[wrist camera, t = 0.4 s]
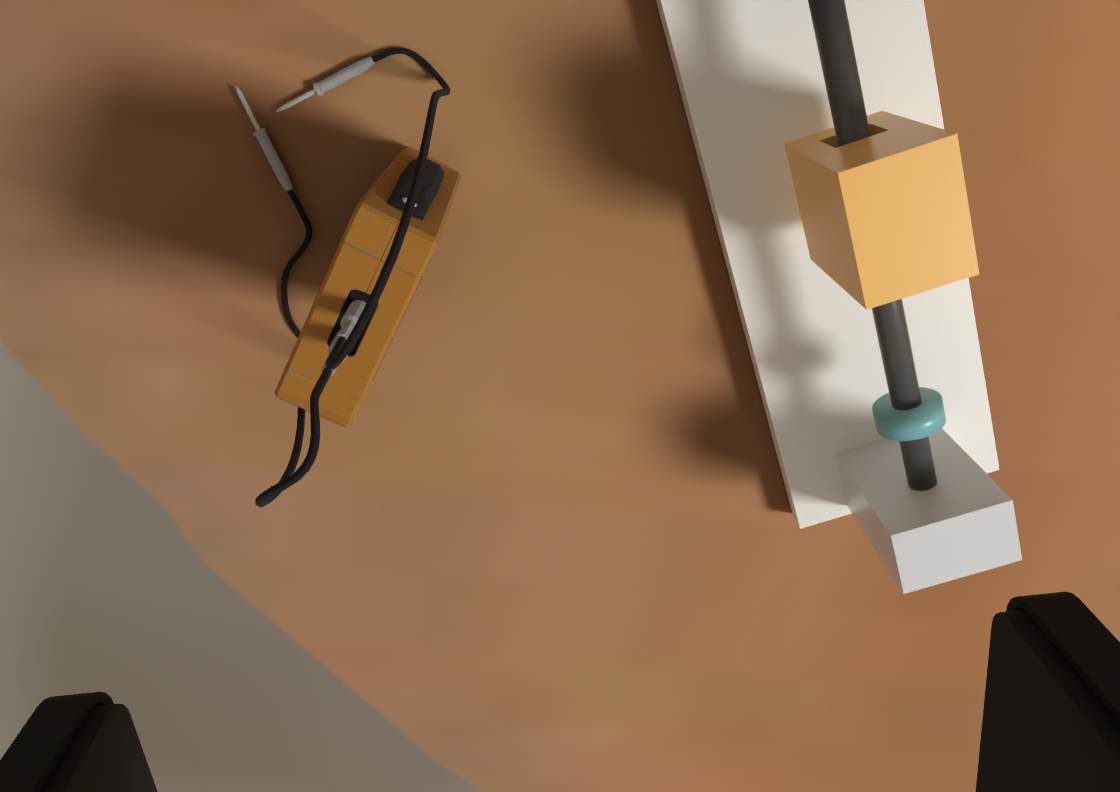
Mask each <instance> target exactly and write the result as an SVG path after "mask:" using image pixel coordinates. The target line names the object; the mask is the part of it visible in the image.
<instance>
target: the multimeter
mask: <svg viewBox="0 0 1120 792" xmlns="http://www.w3.org/2000/svg"><path fill="white" fill-rule="evenodd" d="M394 54H406V55H409V56H411V57H413V58H414V59H416V60H417V61H419V62H420V63H421V64H422V65H423V66H424V67H425V68H426V69H427V70H428V71H429V72H430V73H431V74H432V76H433V77H434V78H435V79H436V80H437V81H438V83H439V84H440V85H441V86H442V88H443V89H440V90H437V91H435V92H433V94H432V96H431V100H430V104H429V109H428V114H427V119H426V124H425V129H424V133H423V138H422V143H421V147H420V152H417V151H415V150H413V149H411V148H409V147H406V148H403V149H402V151H401V152H400V153H399V154H398V155H397V156H396V158H395V159H394V160H393V161H392V162H391V164H390V165H389V166H388V167H387V168H386V169H385V171H384V172H383V173H382V174H381V176H380V177H379V178H378V179H377V180H376V182H375V183H374V184H373V185H372V187H371V188H370V189H369V190H368V192H367V193H366V194H365V195H364V196H363V198H362V199H361V200H360V201H359V203H358V204H357V206H356V208H355V210H354V212H353V214H352V216H351V218H350V221H349V223H348V225H347V227H346V230H345V232H344V234H343V236H342V239H341V241H340V244H339V246H338V248H337V251H336V253H335V255H334V257H333V260H332V262H331V264H330V267H329V269H328V271H327V273H326V276H325V278H324V280H323V283H322V285H321V287H320V289H319V292H318V294H317V296H316V299H315V301H314V303H313V305H312V308H311V310H310V312H309V315H308V317H307V319H306V321H305V324H304V326H303V328H302V331H301V332H300V331H299V329H298V328H297V326H296V325H295V323H294V321H293V319H292V317H291V314H290V311H289V306H288V298H287V279H288V275H289V272H290V270H291V268H292V266H293V264H294V263H295V261H296V260H297V259H298V258H299V256H300V255H301V254H302V253H303V252H304V250H305V249H306V248H307V246H308V245H309V243H310V240H311V238H312V228H311V225H310V222H309V219H308V217H307V215H306V213H305V211H304V209H303V207H302V205H301V203H300V201H299V199H298V198H297V196H296V194H295V193H294V191H293V189H292V188H293V187H292V184H291V181H290V178H289V176H288V174H287V172H286V170H285V168H284V166H283V164H282V162H281V160H280V158H279V156H278V154H277V152H276V150H275V149H274V147H273V145H272V143H271V141H270V139H269V137H268V135H267V133H266V128H263V129H261V128H260V126H259V124H258V123H257V121H256V119H255V117H254V115H253V113H252V111H251V109H250V107H249V105H248V103H247V101H246V99H245V97H244V95H243V94H242V92H241V91H240V90H239V88H238V87H237V86H236V85H235V86H236V90H237V94H238V96H239V98H240V100H241V102H242V104H243V106H244V108H245V110H246V111H247V113H248V115H249V117H250V119H251V121H252V123H253V125H254V127H255V129H256V132H254V133H253V135H254V136H255V137H256V138H257V140H258V142H259V144H260V146H261V148H262V149H263V151H264V153H265V155H266V157H267V159H268V161H269V163H270V165H271V167H272V169H273V171H274V173H275V174H276V176H277V178H278V180H279V182H280V183H281V185H282V186H283V188H284V189H285V190H286V191H287V192H288V194H289V195H290V197H291V199H292V200H293V202H294V204H295V206H296V208H297V210H298V212H299V214H300V216H301V218H302V220H303V222H304V225H305V228H306V238H305V241H304V243H303V244H302V246H301V247H300V248H299V249H298V251H297V252H296V253H295V254H294V256H293V257H292V258H291V259H290V261H289V262H288V264H287V266H286V268H285V270H284V273H283V276H282V284H281V292H282V304H283V309H284V314H285V317H286V320H287V322H288V324H289V326H290V327H291V329H292V330H293V332H294V333H295V335H296V336H297V337H298V340H297V342H296V344H295V347H294V349H293V351H292V353H291V356H290V358H289V360H288V362H287V365H286V367H285V369H284V371H283V374H282V376H281V378H280V381H279V383H278V385H277V388H276V390H275V395H276V397H277V398H279V399H281V400H283V401H286V402H288V403H290V404H293V405H295V406H297V407H298V418H297V430H296V436H295V443H294V447H293V451H292V455H291V458H290V461H289V463H288V466H287V469H286V470H285V472H284V474H283V476H282V478H281V480H280V481H279V482H278V483H277V484H276V485H274V486H272V487H270V488H269V489H267V490H266V491H264V492H263V493H261V494H260V495H259V496H258V497H257V498H256V500H255V502H256V505H257V506H259V507H263V506H265V505H267V504H269V503H270V502H271V501H273V500H274V499H275V498H276V497H277V496H278V495H279V494H280V493H281V492H282V491H283V490H285V489H286V488H288V487H290V486H291V485H293V484H294V483H296V482H298V481H299V480H300V479H301V478H302V477H303V476H304V475H305V474H306V473H307V472H308V471H309V470H310V468H311V466H312V465H313V463H314V461H315V459H316V456H317V452H318V449H319V441H320V419H319V416H320V417H323V418H325V419H327V420H330V421H332V422H334V423H336V424H339V425H341V426H343V427H348V426H351V424H352V422H353V420H354V418H355V416H356V414H357V412H358V410H359V408H360V405H361V403H362V401H363V399H364V397H365V395H366V393H367V391H368V389H369V386H370V384H371V382H372V380H373V379H374V377H375V375H376V372H377V370H378V368H379V366H380V364H381V362H382V360H383V358H384V356H385V354H386V352H387V349H388V347H389V345H390V343H391V341H392V339H393V337H394V335H395V333H396V331H397V328H398V326H399V324H400V322H401V320H402V318H403V316H404V314H405V312H406V310H407V307H408V305H409V303H410V301H411V299H412V297H413V295H414V293H415V291H416V289H417V286H418V284H419V282H420V280H421V278H422V276H423V274H424V272H425V270H426V268H427V266H428V263H429V261H430V259H431V256H432V254H433V252H434V250H435V248H436V246H437V243H438V241H439V238H440V235H441V232H442V229H443V226H444V224H445V221H446V218H447V215H448V212H449V209H450V207H451V204H452V201H453V198H454V195H455V192H456V189H457V186H458V183H459V181H460V178H461V177H460V175H459V173H458V172H456V171H455V170H453V169H451V168H449V167H447V166H445V165H443V164H441V163H439V162H437V161H435V160H433V159H431V158H429V157H427V155H428V151H429V145H430V140H431V135H432V129H433V124H434V118H435V112H436V107H437V103H438V100H439V98H440V97H441V96H445V95H449V94H450V88H449V86H448V85H447V83H446V82H445V81H444V80H443V78H442V77H441V76H440V75H439V74H438V73H437V72H436V70H435V69H434V68H433V67H432V66H431V65H430V64H429V63H428V62H427V61H426V60H425V59H424V58H422V57H421V56H420V55H418V54H417V53H416V52H413V51H411V50H409V49H405V48H394V49H390V50H386V51H384V52H382V53H380V54H378V55H376V56H373V57H367V58H365V59H362V60H359V61H357V62H355V63H353V64H351V65H350V66H348V67H346V68H344V69H342V70H340V71H338V72H337V73H335V74H333V75H331V76H329V77H327V78H325V79H323V80H322V81H320V82H314V83H313V87H314V89H312V90H311V91H309V92H307V93H305V94H303V95H301V96H299V97H298V98H296V99H294V100H292V101H290V102H288V103H286V104H284V105H283V106H281V107H280V108H279V109H278V110H277V111H276V112H279V111H283V110H286V109H288V108H289V107H291V106H293V105H295V104H297V103H299V102H301V101H303V100H304V99H306V98H308V97H310V96H312V95H314V94H316V93H317V94H318V95H319V96H320V97H321V96H323V94H324V93H325V92H327V91H329V90H331V89H333V88H335V87H337V86H339V85H340V84H342V83H344V82H346V81H348V80H350V79H352V78H354V77H356V76H357V75H359V74H361V73H363V72H365V71H366V70H368V69H369V68H370V67H372V66H373V65H374V64H375V62H376V61H379V60H381V59H383V58H385V57H387V56H390V55H394ZM305 410H307V411H309V412H310V415H311V438H310V446H309V449H308V453H307V456H306V458H305V460H304V461H303V463H302V465H301V466H300V467H299V468H298V470H297V471H296V472H295V473H294V471H295V468H296V465H297V462H298V459H299V456H300V452H301V447H302V441H303V435H304V424H305ZM293 473H294V474H293Z"/></svg>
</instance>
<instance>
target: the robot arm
mask: <svg viewBox="0 0 1120 792" xmlns="http://www.w3.org/2000/svg"><path fill="white" fill-rule="evenodd" d="M0 792H157V789H156V786H155V784H154V781H153V778H152V775H151V772H150V769H149V766H148V764H147V761H146V758H145V755H144V753H143V749H142V746H141V744H140V741H139V738H138V735H137V732H136V729H135V726H134V724H133V721H132V718H131V715H130V713H129V711H128V709H127V707H126V706H124V705H123V704H114V703H113V701H112V699H111V697H110V696H108V695H107V694H106V693H103V692H93V693H83V694H74V695H64V696H55V697H49V698H47V699H45V700H43V701H42V702H41V703H40V704H39V706H38V707H37V708H36V709H35V711H34V713H33V714H32V715H31V717H30V718H29V719H28V721H27V723H26V724H25V726H24V727H23V728H22V730H21V731H20V733H19V734H18V735H17V737H16V738H15V740H14V741H13V743H12V744H11V746H10V747H9V748H8V750H7V752H6V753H5V754H4V756H3V757H2V759H1V760H0ZM976 792H1120V642H1119V641H1118V640H1117V639H1116V638H1115V637H1114V636H1113V635H1112V634H1111V632H1110V631H1109V630H1108V629H1107V628H1106V627H1105V626H1104V625H1103V624H1102V623H1101V622H1100V621H1099V620H1098V619H1097V617H1096V616H1095V615H1094V614H1093V613H1092V612H1091V611H1090V610H1089V609H1088V608H1087V607H1086V606H1085V605H1084V603H1083V602H1082V601H1081V600H1080V599H1079V598H1077V597H1076V596H1075V595H1074V594H1072V593H1069V592H1058V593H1048V594H1039V595H1029V596H1019V597H1015V598H1012V599H1011V600H1010V602H1009V603H1008V605H1007V610H1006V612H1000V613H997V614H995V616H994V618H993V621H992V628H991V638H990V648H989V659H988V669H987V680H986V690H985V701H984V711H983V722H982V732H981V742H980V753H979V763H978V774H977V784H976Z"/></svg>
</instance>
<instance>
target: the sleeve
mask: <svg viewBox="0 0 1120 792" xmlns="http://www.w3.org/2000/svg"><path fill="white" fill-rule="evenodd" d="M867 119H868V125H869V130H870V135H871V136H870V137H867V138H864V139H861V140H858V141H855V142H852V143H849V144H846V145H843V146H840V147H838V144H837V139H836V134H835V129H834V127H832V128H829V129H826V130H823V131H820V132H817V133H814V134H811V135H808V136H805V137H802V138H799V139H796V140H793V141H790V142H787V143H784V146H785V150H786V154H787V159H788V163H789V167H790V172H791V176H792V181H793V185H794V189H795V194H796V198H797V202H798V207H799V211H800V216H801V220H802V224H803V229H804V233H805V237H806V242H807V246H808V250H809V255H810V259H811V260H812V261H813V262H814V263H815V264H816V265H817V266H818V267H819V268H821V269H822V270H823V271H824V272H825V273H826V274H827V275H828V276H829V277H831V278H832V279H833V280H834V281H835V282H836V283H837V284H838V285H839V286H840V287H842V288H843V289H844V290H845V291H846V292H847V293H848V294H849V295H850V296H852V297H853V298H854V299H855V300H856V301H857V302H858V303H859V304H860V305H862V306H863V307H864V308H865V309H866V310H868V309H871V308H874V307H877V306H881V305H884V304H887V303H890V302H893V301H896V300H900V299H903V298H906V297H909V296H912V295H915V294H919V293H922V292H925V291H928V290H931V289H934V288H937V287H941V286H944V285H947V284H950V283H953V282H956V281H960V280H963V279H966V278H969V277H972V276H975V275H979V269H978V263H977V257H976V250H975V244H974V238H973V231H972V225H971V219H970V212H969V206H968V199H967V193H966V187H965V180H964V174H963V168H962V161H961V155H960V148H959V142H958V136H957V133H954V132H950V131H947V130H944V129H941V128H937V127H934V126H931V125H927V124H924V123H921V122H918V121H914V120H911V119H908V118H905V117H901V116H898V115H895V114H891V113H888V112H885V111H880V112H877V113H874V114H871V115H868V116H867Z"/></svg>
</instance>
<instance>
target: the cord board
mask: <svg viewBox="0 0 1120 792" xmlns="http://www.w3.org/2000/svg"><path fill="white" fill-rule="evenodd" d="M656 3H657V7H658V10H659V14H660V18H661V22H662V25H663V29H664V33H665V37H666V40H667V44H668V48H669V52H670V55H671V59H672V63H673V67H674V70H675V74H676V78H677V82H678V85H679V89H680V93H681V97H682V100H683V104H684V108H685V112H686V116H687V119H688V123H689V127H690V131H691V134H692V138H693V142H694V146H695V149H696V153H697V157H698V161H699V164H700V168H701V172H702V176H703V179H704V183H705V187H706V191H707V194H708V198H709V202H710V206H711V209H712V213H713V217H714V221H715V225H716V228H717V232H718V236H719V240H720V243H721V247H722V251H723V255H724V258H725V262H726V266H727V270H728V273H729V277H730V281H731V285H732V288H733V292H734V296H735V300H736V303H737V307H738V311H739V315H740V318H741V322H742V326H743V330H744V334H745V337H746V341H747V345H748V349H749V352H750V356H751V360H752V364H753V367H754V371H755V375H756V379H757V382H758V386H759V390H760V394H761V397H762V401H763V405H764V409H765V412H766V416H767V420H768V424H769V428H770V431H771V435H772V439H773V443H774V446H775V450H776V454H777V458H778V461H779V465H780V469H781V473H782V476H783V480H784V484H785V488H786V491H787V495H788V499H789V503H790V506H791V510H792V514H793V516H794V518H795V520H796V521H797V523H798V525H799V527H800V529H801V528H804V527H808V526H811V525H815V524H818V523H821V522H825V521H828V520H831V519H835V518H838V517H842V516H845V515H848V514H853V515H854V517H855V519H856V520H857V522H858V523H859V525H860V526H861V528H862V529H863V531H864V533H865V534H866V536H867V537H868V539H869V540H870V542H871V544H872V545H873V547H874V548H875V550H876V551H877V553H878V554H879V556H880V558H881V559H882V561H883V562H884V564H885V565H886V567H887V568H888V570H889V572H890V573H891V575H892V576H893V578H894V579H895V581H896V583H897V584H898V586H899V587H900V589H901V590H902V592H903V593H904V594H905V593H909V592H912V591H916V590H919V589H923V588H926V587H930V586H933V585H937V584H940V583H944V582H947V581H951V580H954V579H958V578H961V577H965V576H968V575H972V574H975V573H978V572H982V571H985V570H989V569H992V568H996V567H999V566H1003V565H1006V564H1010V563H1013V562H1017V561H1020V560H1022V557H1021V550H1020V544H1019V538H1018V531H1017V525H1016V519H1015V512H1014V506H1013V500H1012V499H1011V498H1010V497H1009V496H1008V495H1007V494H1006V493H1005V492H1004V491H1003V490H1002V489H1001V488H1000V487H999V486H998V485H997V484H996V483H995V482H994V481H993V480H992V479H991V478H990V477H989V475H988V474H987V473H990V472H993V471H997V470H999V464H998V458H997V452H996V446H995V440H994V434H993V427H992V421H991V415H990V409H989V403H988V396H987V390H986V384H985V378H984V372H983V366H982V359H981V353H980V347H979V341H978V335H977V329H976V322H975V316H974V310H973V304H972V298H971V292H970V285H969V279H968V278H966V279H963V280H960V281H956V282H953V283H950V284H947V285H944V286H941V287H937V288H934V289H931V290H928V291H925V292H922V293H919V294H915V295H912V296H909V297H906V298H903V299H900V300H896V301H893V302H890V303H887V304H884V305H881V306H877V307H874V308H871V309H868V310H866V309H865V308H864V307H863V306H862V305H860V304H859V303H858V302H857V301H856V300H855V299H854V298H853V297H852V296H850V295H849V294H848V293H847V292H846V291H845V290H844V289H843V288H842V287H840V286H839V285H838V284H837V283H836V282H835V281H834V280H833V279H832V278H831V277H829V276H828V275H827V274H826V273H825V272H824V271H823V270H822V269H821V268H819V267H818V266H817V265H816V264H815V263H814V262H813V261H812V260H811V259H810V255H809V250H808V246H807V242H806V237H805V233H804V229H803V224H802V220H801V216H800V211H799V207H798V202H797V198H796V194H795V189H794V185H793V181H792V176H791V172H790V167H789V163H788V159H787V154H786V150H785V146H784V143H787V142H790V141H793V140H796V139H799V138H802V137H805V136H808V135H811V134H814V133H817V132H820V131H823V130H826V129H829V128H832V127H834V129H835V134H836V139H837V144H838V147H840V146H843V145H846V144H849V143H852V142H855V141H858V140H861V139H864V138H867V137H870V136H871V135H870V130H869V125H868V119H867V116H868V115H871V114H874V113H877V112H880V111H885V112H888V113H891V114H895V115H898V116H901V117H905V118H908V119H911V120H914V121H918V122H921V123H924V124H927V125H931V126H934V127H937V128H941V129H944V125H943V119H942V113H941V106H940V100H939V94H938V88H937V82H936V75H935V69H934V63H933V57H932V51H931V45H930V38H929V32H928V26H927V20H926V14H925V8H924V1H923V0H656Z"/></svg>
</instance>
